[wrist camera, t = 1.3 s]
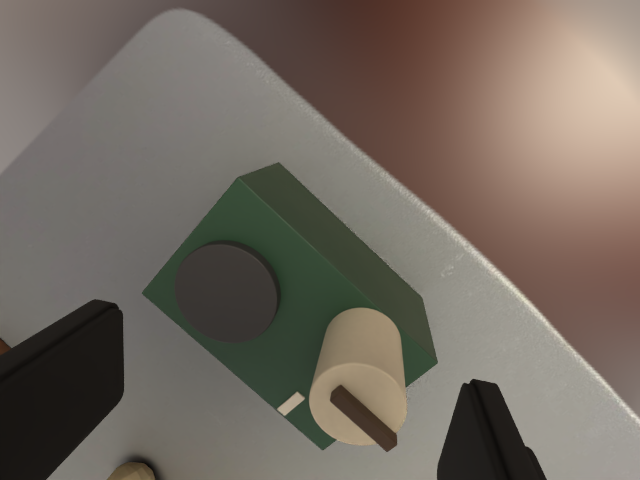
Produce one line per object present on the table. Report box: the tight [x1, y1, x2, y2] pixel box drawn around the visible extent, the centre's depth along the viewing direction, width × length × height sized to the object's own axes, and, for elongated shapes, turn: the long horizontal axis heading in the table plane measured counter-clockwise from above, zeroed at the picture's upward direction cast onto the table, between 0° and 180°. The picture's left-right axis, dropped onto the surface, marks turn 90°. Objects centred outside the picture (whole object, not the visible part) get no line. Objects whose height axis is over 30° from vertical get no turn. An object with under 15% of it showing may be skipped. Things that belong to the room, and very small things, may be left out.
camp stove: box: [142, 162, 438, 450], centre depth 24 cm, size 14×9×9 cm, turn 47°
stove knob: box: [309, 308, 407, 452], centre depth 18 cm, size 4×4×6 cm
